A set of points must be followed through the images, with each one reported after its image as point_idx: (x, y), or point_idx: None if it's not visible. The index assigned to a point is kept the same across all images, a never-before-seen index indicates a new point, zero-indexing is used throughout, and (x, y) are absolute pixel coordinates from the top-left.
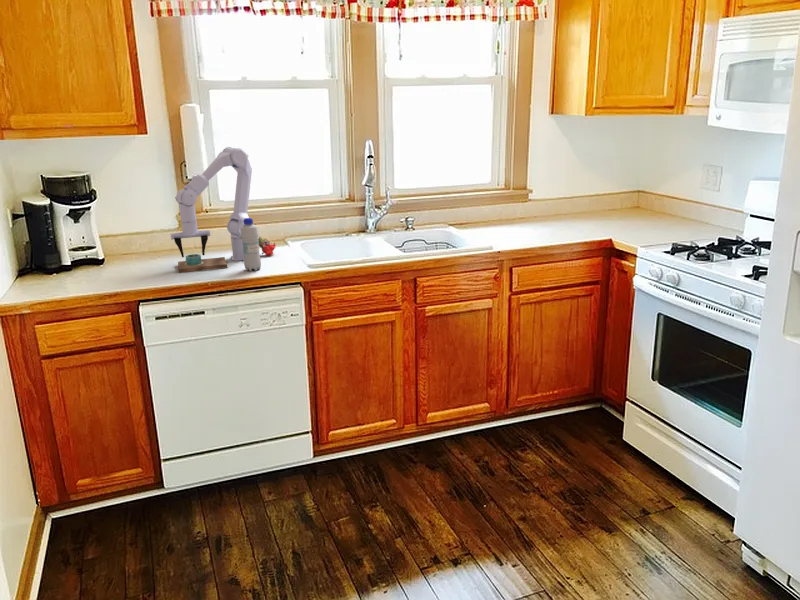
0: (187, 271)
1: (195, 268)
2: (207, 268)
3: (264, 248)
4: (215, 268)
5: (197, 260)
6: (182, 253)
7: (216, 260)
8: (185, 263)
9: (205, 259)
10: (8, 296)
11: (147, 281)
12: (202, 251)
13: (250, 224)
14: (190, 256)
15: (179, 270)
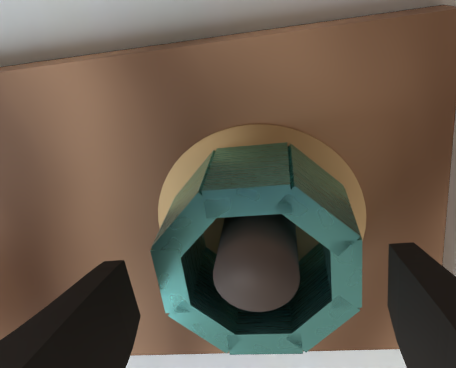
0: (333, 20)
1: (231, 39)
2: (96, 54)
3: None
4: (18, 65)
5: (200, 178)
6: (424, 269)
7: (41, 270)
8: None
9: (160, 335)
10: None
11: None
12: (94, 286)
13: None
14: (292, 272)
15: (442, 10)
